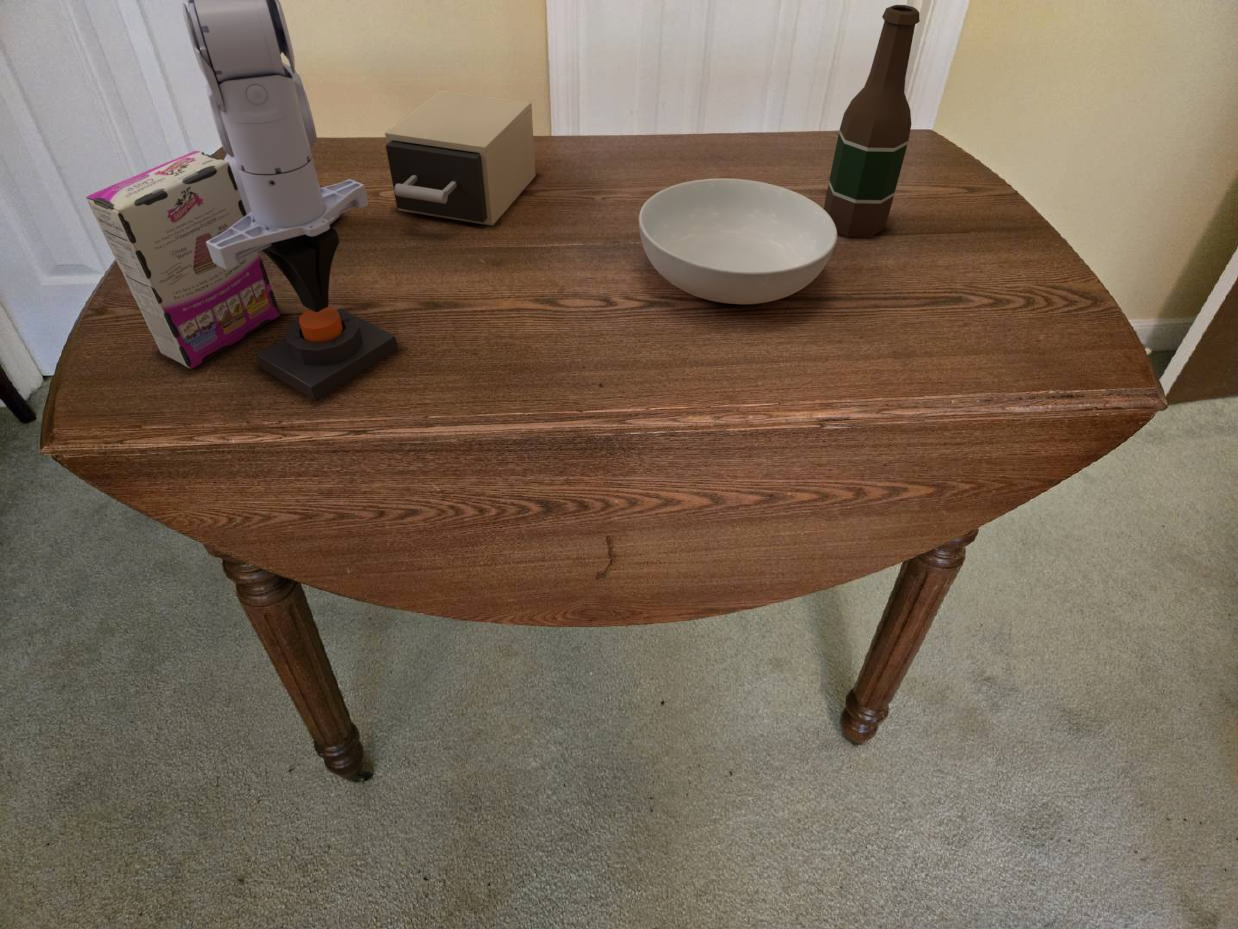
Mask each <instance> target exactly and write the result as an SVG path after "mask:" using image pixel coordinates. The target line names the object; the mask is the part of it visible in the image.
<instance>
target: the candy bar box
mask: <svg viewBox="0 0 1238 929" xmlns="http://www.w3.org/2000/svg"><path fill="white" fill-rule="evenodd" d="M85 198H86V200H87V203H88V205H89V206H90V209H91V211H92V213H93V215H94V217H95V219H96V221H97V223H98V226H99V227H100V229H101V232H102V233H103V236H104V239H105V240H106V242H107V244H108V246H109V248H110V250H111V252H112V255H113V257H114V259H115V261H116V263H117V266H118V267H119V269H120V271H121V273H122V275H123V277H124V280H125V282H126V284H127V286H128V288H129V291H130V292H131V294H132V295H131V296H132V297H133V298H134V300H135V303H136V304H137V307H138V309H139V311H140V313H141V315H142V317H143V319H144V321H145V324H146V325H147V328H148V330H149V332H150V334H151V336H152V339H153V341H154V342H155V344H156V347H157V350H159V352H160V354H161V355H163V356H164V357H166V358H168V359H170V360H172V361H175V362H176V363H178V364H180V365H182V366H183V367H185V368H187V369H189V370H192V369H195V368H197V367H198V366H200V365H201V364H203V363H205V362H207V361H208V360H211V358H213V357H216V355H219V354H220V353H221V352H224V351H225V350H227V349H228V348H229V347H231V346H233V345H234V344H236V343H238V342H240V341H241V340H243V339H245V338H246V337H248V336H250V335H251V334H252V333H254V332H256V331H258V330H259V329H261V328H262V327H264V326H266V325H267V324H269V323H271V322H272V321H274V320H276V319H277V318H279V317H280V316H281V311H280V309H279V306H278V303H277V300H276V297H275V294H274V291H273V288H272V285H271V282H270V279H269V276H268V274H267V270H266V267H265V265H264V261H263V259H262V256H261V252H260V251H259V252H256V253H254V254H252V255H250V256H248V257H246V258H243V259H241V260H239V261H237V263H238V266H236V267H234V268H232V269H230V270H226V269H224V268H222V267H220V266H218V265H217V264H215V263H213V261H212V258H211V255H210V252H209V250H208V247H207V244H206V241H208V240H210V239H212V238H214V237H216V236H218V235H220V234H221V233H223V232H224V231H226V230H227V229H228V228H230V227H231V226H232V225H234V224H235V223H236V222H238V221H239V220H240V219H242V218H243V217H245V216H246V215H247V214H246V211H245V208H244V205H243V202H242V199H241V196H240V193H239V191H238V188H237V184H236V182H235V178H234V175H233V173H232V170H231V167H230V164H229V162H228V161H225V160H224V159H222V158H219V157H216V156H213V155H211V154H209V153H207V154H205V152H204V151H200V150H193V151H192V152H189V153H187V154H184V155H181V156H179V157H176V158H175V159H172V160H170V161H169V160H168V161H167V162H164V163H162V164H160V165H158V166H154V167H153V168H150V169H148V170H146V171H143V172H141V173H138V174H136V175H133V176H131V177H129V178H126V179H124V180H121V181H120V182H117V183H115V184H112V185H110V186H108V187H105V188H103V189H100V190H98V191H96V192H93V193H90V194H88V195H86V196H85Z"/></svg>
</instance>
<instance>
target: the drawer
mask: <svg viewBox="0 0 1238 929" xmlns="http://www.w3.org/2000/svg"><path fill="white" fill-rule="evenodd" d="M385 150H386V154H387V155H386V156H387V160H388V166H389V171H390V177H391V183H392V187H393V188H392V189H393V193H394V199H395V204H396V209H397V210H398V209H404V210H410V211H416V212H422V213H428V214H434V215H440V216H447V217H453V218H459V219H465V220H471V221H477V222H484V221H485V220H486V219H487V210H486V200H485V191H484V181H483V171H482V161H481V155H480V153H476V152H469V151H462V150H456V149H449V148H442V147H435V146H428V145H421V144H414V143H407V142H402V143H398V142H391V141H390V142H389V143H388V144H387V143H386V144H385Z"/></svg>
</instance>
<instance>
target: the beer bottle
mask: <svg viewBox="0 0 1238 929" xmlns="http://www.w3.org/2000/svg"><path fill="white" fill-rule="evenodd" d="M881 18H882V20H883V24H882V28H881V31H880V35H879V39H878V42H877V45H876V49H875V53H874V57H873V60H872V64H871V67H870V70H869V74H868V76H867V79H866V81H865V84H864V86H863V88H861V89H860V91H859V92H858V93H857V94H856V95H855V96H854V97H853V98H852V99H851V100H850V103H849V104H848V106H847V107H846V110H845V111H844V113H843V114H842V115H843V116H842V119H841V122H840V127H839V131H838V135H837V140H836V145H835V150H834V155H833V159H832V163H831V164H832V165H831V168H830V169H831V170H830V174H829V180H828V183H827V189H826V193H825V199H824V205H823V209H824V210H825V211H826V212H827V213H828V214H829V216H830V217H831V218H832V220H833V222H834V224H835V226H836V229H837V235H841V236H843V237H845V238H856V239H857V238H865V239H867V238H869V239H871V238H872V237H874V236H875V235H877V234H878V233H880V232H882V231H883V230H884V229H885V227H886V225H887V222H888V218H889V216H890V213H891V210H892V205H893V200H894V197H895V194H896V190H897V186H898V182H899V178H900V175H901V172H902V167H903V163H904V160H905V155H906V152H907V149H908V144H909V141H910V140H909V139H910V134H911V129H912V116H911V115H912V114H911V113H912V112H911V107H910V104H909V102H908V99H907V96H906V93H905V90H906V76H907V72H908V66H909V61H910V55H911V51H912V50H911V49H912V44H913V41H914V40H913V39H914V34H915V28H916V26H917V24H918V23H920V11H919V10H918V9H917V8H916V7H914V6H910V5H906V4H893V5H891V6H888V7H886V8H885V10H884V12H883V13H882V16H881Z"/></svg>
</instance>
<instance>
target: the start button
mask: <svg viewBox="0 0 1238 929" xmlns="http://www.w3.org/2000/svg"><path fill="white" fill-rule="evenodd" d="M337 310H338V309H335V308H333V307H330V306H328V307H326V308H325V309H323V310H321V311H319V312H314V311H312V310H311V309H309V308H308V309H307V310H305V311H304V312H302V313H301V314H300V315H299V317H298V318H299V323H300V327H301V330H302V333H303V336H304V338H305V340H307V341H308V342H325V341H329V340H333V339H335V338H336V337H338V336H340V335H341V334H342V332H343V327H342V323H341V319H340V316H339V313H338V311H337Z"/></svg>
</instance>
